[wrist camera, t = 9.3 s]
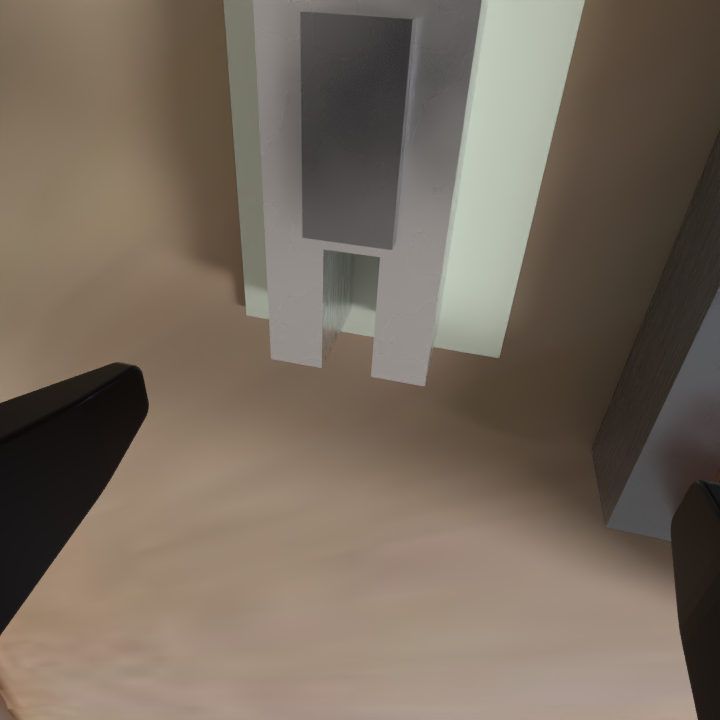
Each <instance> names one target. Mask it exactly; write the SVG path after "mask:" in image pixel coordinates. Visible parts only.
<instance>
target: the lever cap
mask: <svg viewBox="0 0 720 720" xmlns="http://www.w3.org/2000/svg"><path fill="white" fill-rule="evenodd" d="M488 2H489V0H253V11H254V31H255V51H256V70H257V90H258V110H259V130H260V150H261V169H262V189H263V209H264V229H265V249H266V269H267V288H268V308H269V328H270V348H271V359H274V360H279V361H285V362H290V363H296V364H302V365H307V366H313V367H318V368H322V367H323V365H324V363H325V361H326V359H327V357H328V355H329V353H330V351H331V349H332V347H333V346H334V344H335V342H336V340H337V338H338V336H339V334H340V332H341V330H342V328H343V326H344V324H345V323H346V321H347V319H348V317H349V315H350V313H351V311H352V300H353V279H354V259H355V254H360V255H367V256H374V257H380V265H379V278H378V291H377V304H376V317H375V330H374V343H373V356H372V369H371V377H375V378H380V379H386V380H391V381H397V382H403V383H408V384H414V385H419V386H425V384H426V379H427V375H428V370H429V366H430V362H431V357H432V353H433V348H434V344H435V340H436V335H437V331H438V326H439V321H440V315H441V308H442V302H443V295H444V288H445V282H446V275H447V269H448V262H449V256H450V249H451V243H452V236H453V230H454V223H455V217H456V210H457V204H458V197H459V191H460V184H461V178H462V171H463V165H464V158H465V152H466V145H467V139H468V132H469V125H470V119H471V112H472V106H473V99H474V93H475V86H476V80H477V73H478V67H479V60H480V54H481V47H482V41H483V34H484V28H485V21H486V15H487V8H488Z"/></svg>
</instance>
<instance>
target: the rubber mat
mask: <svg viewBox="0 0 720 720" xmlns="http://www.w3.org/2000/svg"><path fill="white" fill-rule="evenodd" d="M584 2H585V0H489V2H488V8H487V15H486V21H485V28H484V34H483V41H482V47H481V54H480V60H479V67H478V73H477V80H476V86H475V93H474V99H473V106H472V112H471V119H470V125H469V132H468V139H467V145H466V152H465V158H464V165H463V171H462V178H461V184H460V191H459V197H458V204H457V210H456V217H455V223H454V230H453V236H452V243H451V249H450V256H449V262H448V269H447V275H446V282H445V288H444V295H443V302H442V308H441V315H440V321H439V326H438V331H437V335H436V340H435V344H434V347H436V348H442V349H448V350H453V351H459V352H465V353H471V354H477V355H483V356H489V357H495V358H499V357H500V353H501V349H502V345H503V340H504V336H505V332H506V328H507V324H508V319H509V315H510V311H511V307H512V303H513V299H514V294H515V290H516V286H517V282H518V278H519V274H520V269H521V265H522V261H523V257H524V253H525V248H526V244H527V240H528V236H529V232H530V228H531V223H532V219H533V215H534V211H535V207H536V203H537V198H538V194H539V190H540V186H541V182H542V177H543V173H544V169H545V165H546V161H547V157H548V152H549V148H550V144H551V140H552V136H553V132H554V127H555V123H556V119H557V115H558V111H559V106H560V102H561V98H562V94H563V90H564V86H565V81H566V77H567V73H568V69H569V65H570V61H571V56H572V52H573V48H574V44H575V40H576V35H577V31H578V27H579V23H580V19H581V15H582V10H583V6H584ZM223 3H224V16H225V30H226V43H227V57H228V71H229V84H230V98H231V111H232V125H233V139H234V152H235V166H236V179H237V193H238V207H239V220H240V234H241V247H242V261H243V275H244V288H245V302H246V315H247V316H252V317H258V318H264V319H269V308H268V288H267V269H266V249H265V229H264V209H263V189H262V169H261V150H260V130H259V110H258V90H257V70H256V51H255V31H254V11H253V0H223ZM379 265H380V257H374V256H367V255H360V254H355V259H354V279H353V300H352V311H351V313H350V315H349V317H348V319H347V321H346V323H345V324H344V326H343V328H342V330H341V332H347V333H353V334H359V335H365V336H371V337H374V330H375V317H376V304H377V291H378V278H379Z"/></svg>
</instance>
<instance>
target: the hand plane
mask: <svg viewBox="0 0 720 720" xmlns="http://www.w3.org/2000/svg"><path fill="white" fill-rule="evenodd" d="M592 455H593V461H594V466H595V472H596V477H597V483H598V488H599V494H600V500H601V505H602V511H603V516H604V522H605V527H606V528H610V529H615V530H620V531H624V532H629V533H634V534H639V535H643V536H648V537H653V538H657V539H662V540H667V541H671V533H670V528H671V521H672V518H673V515H674V513H675V511H676V510H677V508H678V506H679V504H680V503H681V501H682V499H683V497H684V495H685V494H686V492H687V490H688V488H689V487H690V485H691V484H692V483H693V482H694V481H696V480H705V481H710V482H715V483H720V132H719V135H718V137H717V140H716V142H715V145H714V147H713V150H712V152H711V155H710V157H709V160H708V162H707V165H706V167H705V170H704V172H703V175H702V177H701V180H700V182H699V184H698V187H697V189H696V192H695V194H694V197H693V199H692V202H691V204H690V207H689V209H688V212H687V214H686V217H685V219H684V222H683V224H682V227H681V229H680V232H679V234H678V237H677V239H676V242H675V244H674V247H673V249H672V252H671V254H670V257H669V259H668V262H667V264H666V267H665V269H664V272H663V274H662V277H661V279H660V282H659V284H658V287H657V289H656V291H655V294H654V296H653V299H652V301H651V304H650V306H649V309H648V311H647V314H646V316H645V319H644V321H643V324H642V326H641V329H640V331H639V334H638V336H637V339H636V341H635V344H634V346H633V349H632V351H631V354H630V356H629V359H628V361H627V364H626V366H625V369H624V371H623V374H622V376H621V379H620V381H619V384H618V386H617V389H616V391H615V394H614V396H613V398H612V401H611V403H610V406H609V408H608V411H607V413H606V416H605V418H604V421H603V423H602V426H601V428H600V431H599V433H598V436H597V438H596V441H595V443H594V446H593V448H592Z"/></svg>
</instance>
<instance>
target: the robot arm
mask: <svg viewBox="0 0 720 720" xmlns="http://www.w3.org/2000/svg"><path fill="white" fill-rule="evenodd" d="M148 408H149V402H148V397H147V392H146V387H145V383H144V378H143V373H142V371H141V369H140V368H139V367H137V366H135V365H130V364H125V363H119V362H116V363H112V364H109V365H106V366H104V367H101V368H98V369H95V370H92V371H89V372H87V373H84V374H81V375H78V376H75V377H72V378H70V379H67V380H64V381H61V382H58V383H56V384H53V385H50V386H47V387H44V388H41V389H39V390H36V391H33V392H30V393H27V394H24V395H22V396H19V397H16V398H13V399H10V400H8V401H5V402H2V403H0V635H1V634H2V632H3V631H4V630H5V628H6V627H7V625H8V624H9V623H10V621H11V620H12V618H13V617H14V616H15V614H16V613H17V611H18V610H19V609H20V607H21V606H22V604H23V603H24V602H25V600H26V599H27V597H28V596H29V595H30V593H31V592H32V590H33V589H34V588H35V586H36V585H37V583H38V582H39V581H40V579H41V578H42V576H43V575H44V574H45V572H46V571H47V569H48V568H49V567H50V565H51V564H52V562H53V561H54V560H55V558H56V557H57V555H58V554H59V553H60V551H61V550H62V548H63V547H64V546H65V544H66V543H67V541H68V540H69V539H70V537H71V536H72V534H73V533H74V531H75V530H76V529H77V527H78V526H79V524H80V523H81V522H82V520H83V519H84V517H85V516H86V515H87V513H88V512H89V510H90V509H91V508H92V506H93V505H94V503H95V502H96V501H97V499H98V498H99V496H100V495H101V493H102V492H103V490H104V489H105V487H106V486H107V484H108V483H109V481H110V479H111V478H112V476H113V474H114V472H115V471H116V469H117V467H118V465H119V464H120V462H121V460H122V458H123V457H124V455H125V453H126V451H127V450H128V448H129V446H130V444H131V443H132V441H133V439H134V437H135V435H136V434H137V432H138V430H139V428H140V427H141V425H142V423H143V421H144V420H145V418H146V416H147V413H148ZM670 533H671V545H672V556H673V567H674V579H675V590H676V601H677V612H678V621H679V629H680V635H681V640H682V646H683V651H684V655H685V660H686V665H687V670H688V674H689V679H690V684H691V689H692V693H693V698H694V703H695V708H696V712H697V717H698V720H720V483H715V482H710V481H705V480H696V481H694V482H693V483H692V484H691V485H690V487H689V488H688V490H687V492H686V494H685V495H684V497H683V499H682V501H681V503H680V504H679V506H678V508H677V510H676V511H675V513H674V515H673V518H672V521H671V528H670Z"/></svg>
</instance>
